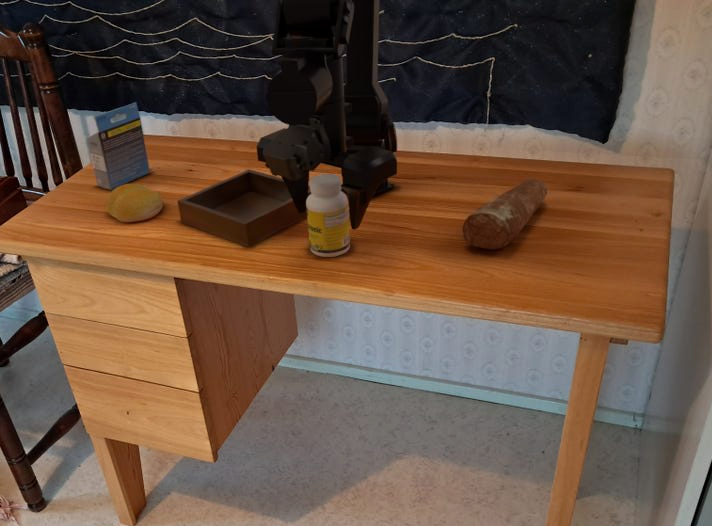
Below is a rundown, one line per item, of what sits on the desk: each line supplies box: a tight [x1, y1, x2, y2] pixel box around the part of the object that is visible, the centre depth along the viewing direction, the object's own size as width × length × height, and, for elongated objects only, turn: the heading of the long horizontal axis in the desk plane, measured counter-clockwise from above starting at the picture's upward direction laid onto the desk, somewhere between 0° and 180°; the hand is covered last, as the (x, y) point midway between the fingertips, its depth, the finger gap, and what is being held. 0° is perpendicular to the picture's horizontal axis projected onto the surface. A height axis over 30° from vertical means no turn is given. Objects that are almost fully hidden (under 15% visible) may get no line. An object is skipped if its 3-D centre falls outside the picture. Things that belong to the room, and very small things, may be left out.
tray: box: [177, 168, 312, 248], centre depth 109 cm, size 15×15×4 cm
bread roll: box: [104, 183, 164, 223], centre depth 113 cm, size 8×9×4 cm
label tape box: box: [86, 101, 151, 191], centre depth 123 cm, size 9×4×12 cm, turn 141°
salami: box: [462, 178, 548, 250], centre depth 98 cm, size 6×19×6 cm, turn 144°
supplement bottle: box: [306, 173, 351, 258], centre depth 96 cm, size 5×5×10 cm
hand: (328, 220), depth 96 cm, fingers open, 9 cm apart
